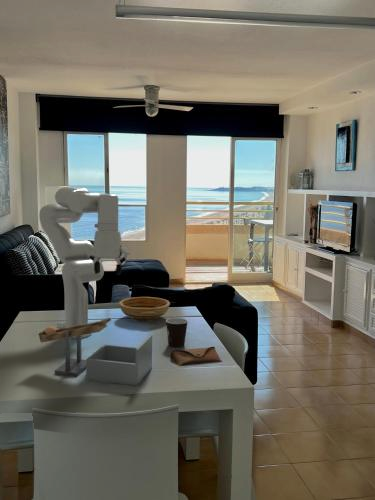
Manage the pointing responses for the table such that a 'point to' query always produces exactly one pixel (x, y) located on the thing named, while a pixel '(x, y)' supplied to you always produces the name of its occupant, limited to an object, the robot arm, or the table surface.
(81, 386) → the table surface
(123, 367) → the bin
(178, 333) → the coffee mug
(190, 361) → the sunglasses case
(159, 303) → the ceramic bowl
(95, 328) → the chute
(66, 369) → the launcher stand
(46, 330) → the ball
